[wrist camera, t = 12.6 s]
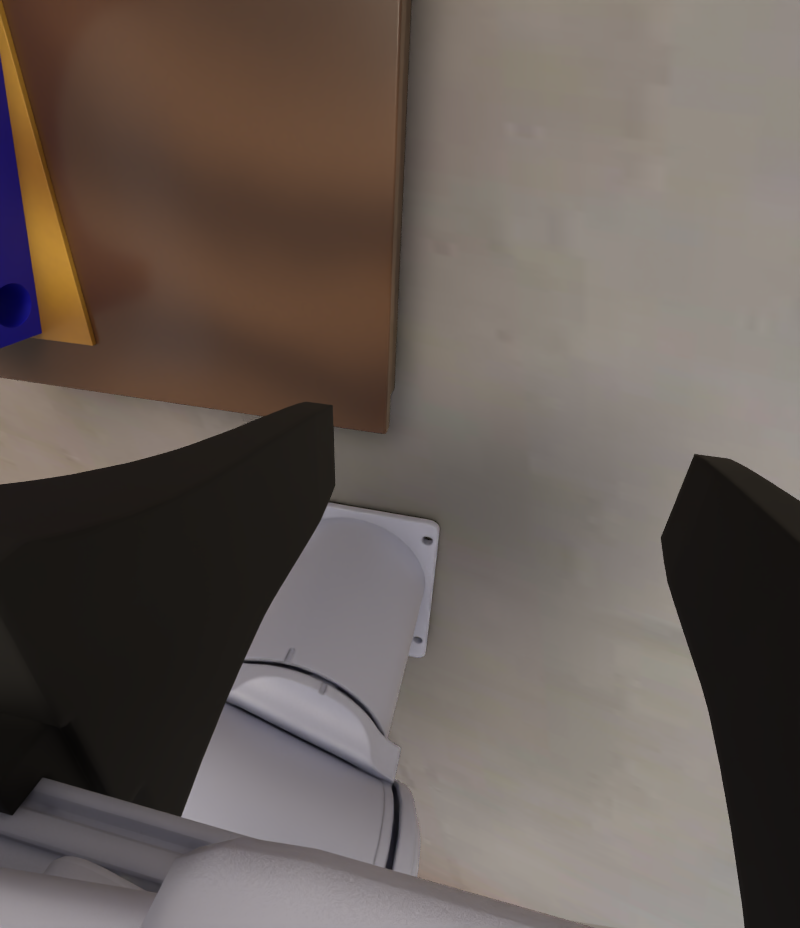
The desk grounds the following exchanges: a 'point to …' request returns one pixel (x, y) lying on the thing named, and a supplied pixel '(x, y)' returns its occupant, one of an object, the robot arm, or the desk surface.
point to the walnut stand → (212, 198)
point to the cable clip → (14, 244)
